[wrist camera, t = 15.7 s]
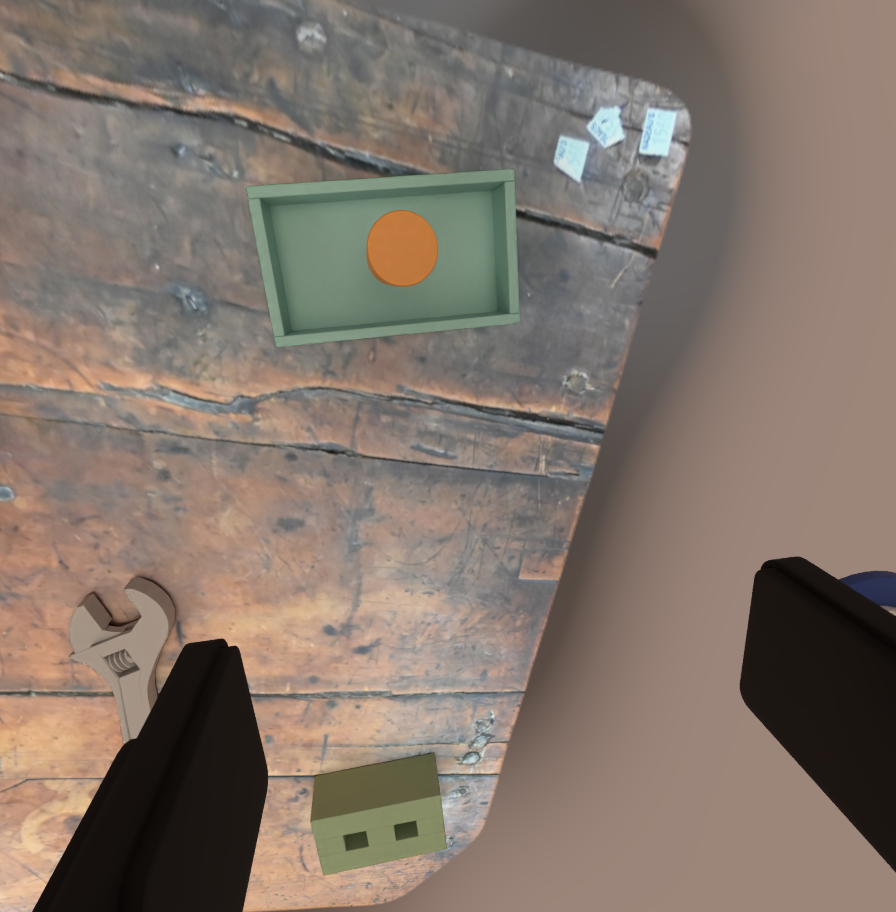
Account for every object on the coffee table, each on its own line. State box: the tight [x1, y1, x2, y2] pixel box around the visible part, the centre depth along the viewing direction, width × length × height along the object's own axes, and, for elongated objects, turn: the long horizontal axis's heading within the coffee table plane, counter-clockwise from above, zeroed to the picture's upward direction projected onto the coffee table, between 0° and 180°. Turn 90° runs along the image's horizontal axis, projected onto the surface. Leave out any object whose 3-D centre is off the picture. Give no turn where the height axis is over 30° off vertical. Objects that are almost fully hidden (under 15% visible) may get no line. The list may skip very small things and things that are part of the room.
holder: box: [310, 753, 447, 875], centre depth 44 cm, size 6×10×4 cm, turn 95°
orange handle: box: [366, 210, 438, 287], centre depth 26 cm, size 3×3×12 cm
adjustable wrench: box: [69, 578, 175, 744], centre depth 39 cm, size 25×6×2 cm, turn 173°
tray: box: [246, 169, 520, 347], centre depth 31 cm, size 8×14×4 cm, turn 95°
